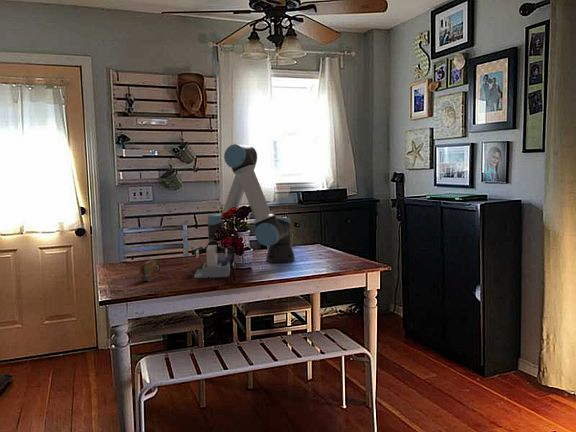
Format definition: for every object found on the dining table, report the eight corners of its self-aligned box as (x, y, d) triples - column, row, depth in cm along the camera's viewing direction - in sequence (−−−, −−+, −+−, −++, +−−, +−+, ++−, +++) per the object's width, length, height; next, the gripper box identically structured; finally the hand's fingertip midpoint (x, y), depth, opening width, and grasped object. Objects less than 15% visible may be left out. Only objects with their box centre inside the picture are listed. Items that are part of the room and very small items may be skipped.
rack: (230, 269, 243) (230, 259, 243) (229, 276, 227) (228, 266, 227) (197, 270, 242) (197, 261, 241) (193, 278, 226) (193, 267, 225)
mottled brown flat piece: (145, 283, 219) (144, 264, 218) (139, 283, 219) (138, 264, 219) (161, 275, 233) (160, 258, 233) (154, 275, 234) (153, 258, 233)
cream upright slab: (217, 269, 241) (216, 244, 239) (216, 274, 229) (215, 249, 227) (209, 269, 240) (208, 245, 239) (207, 274, 228) (206, 249, 227)
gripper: (239, 253, 253) (238, 261, 232) (190, 255, 251) (184, 263, 230) (238, 238, 252) (238, 245, 231) (189, 240, 250) (184, 247, 229)
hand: (211, 254), depth 230 cm, fingers open, 13 cm apart
